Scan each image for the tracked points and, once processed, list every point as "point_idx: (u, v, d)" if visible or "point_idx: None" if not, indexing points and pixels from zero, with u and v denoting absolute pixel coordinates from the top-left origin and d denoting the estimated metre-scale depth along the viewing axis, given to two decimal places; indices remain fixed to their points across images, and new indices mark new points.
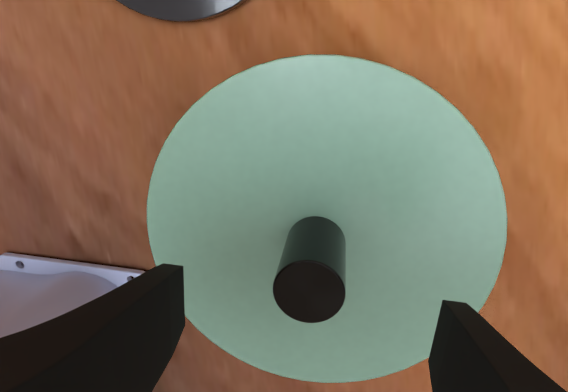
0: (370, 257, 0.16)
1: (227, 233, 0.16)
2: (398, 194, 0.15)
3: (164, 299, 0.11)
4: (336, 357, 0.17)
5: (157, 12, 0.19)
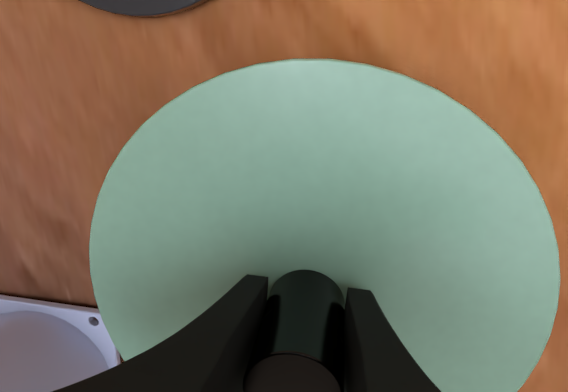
0: None
1: (192, 288, 0.12)
2: (414, 244, 0.11)
3: (257, 312, 0.10)
4: None
5: (112, 5, 0.15)
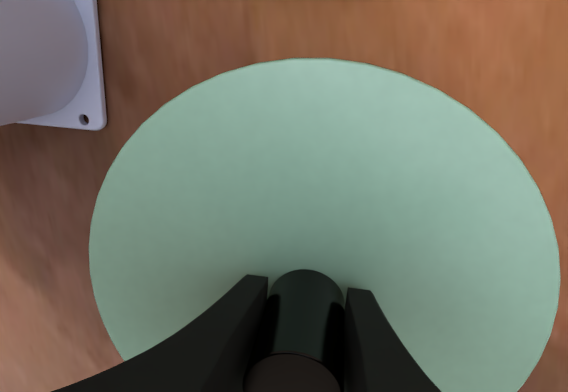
0: None
1: (191, 288, 0.12)
2: (415, 244, 0.11)
3: (257, 312, 0.10)
4: None
5: None
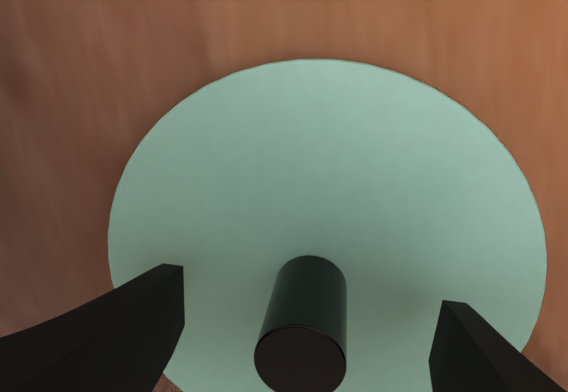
0: (377, 304, 0.13)
1: (204, 273, 0.13)
2: (412, 231, 0.12)
3: (164, 299, 0.11)
4: None
5: None
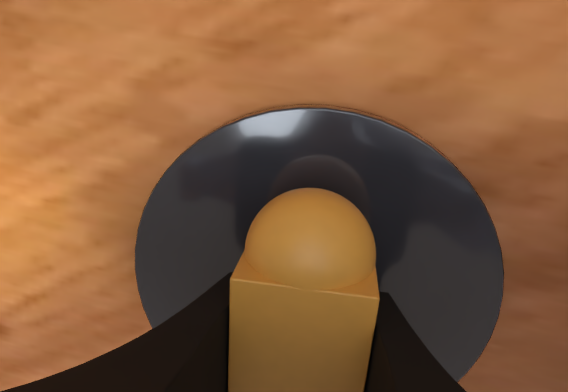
0: None
1: None
2: None
3: None
4: None
5: (459, 370, 0.13)
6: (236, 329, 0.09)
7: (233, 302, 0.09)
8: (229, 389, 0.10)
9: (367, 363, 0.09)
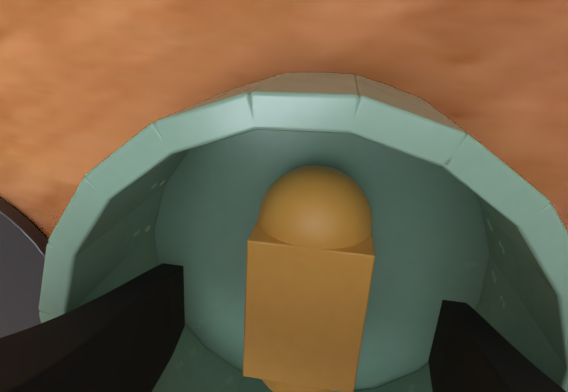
0: None
1: None
2: None
3: (164, 299, 0.11)
4: None
5: None
6: (252, 285, 0.11)
7: (250, 261, 0.11)
8: (245, 340, 0.12)
9: (364, 314, 0.11)
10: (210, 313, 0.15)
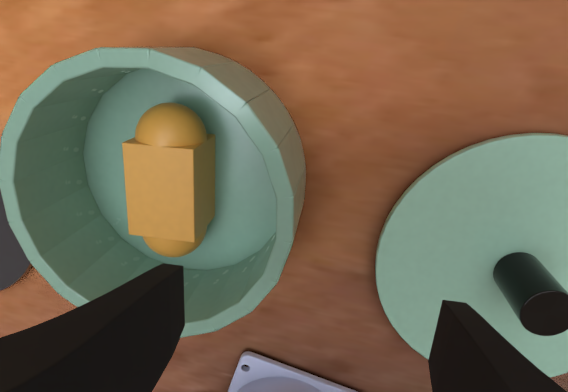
0: (547, 238, 0.19)
1: None
2: (501, 207, 0.19)
3: (164, 299, 0.11)
4: None
5: None
6: (127, 171, 0.18)
7: (124, 156, 0.18)
8: (127, 208, 0.19)
9: (193, 187, 0.18)
10: (123, 213, 0.23)
